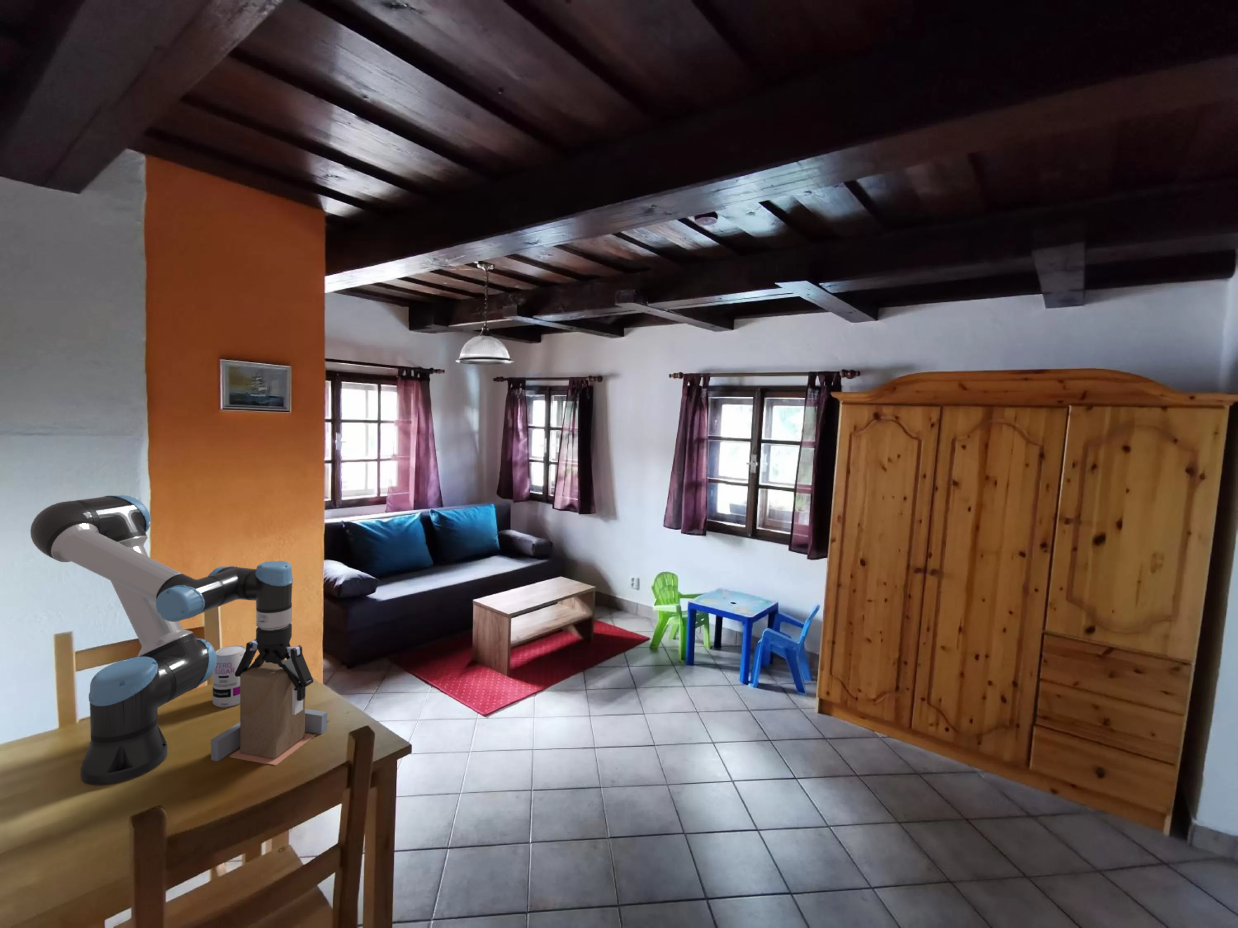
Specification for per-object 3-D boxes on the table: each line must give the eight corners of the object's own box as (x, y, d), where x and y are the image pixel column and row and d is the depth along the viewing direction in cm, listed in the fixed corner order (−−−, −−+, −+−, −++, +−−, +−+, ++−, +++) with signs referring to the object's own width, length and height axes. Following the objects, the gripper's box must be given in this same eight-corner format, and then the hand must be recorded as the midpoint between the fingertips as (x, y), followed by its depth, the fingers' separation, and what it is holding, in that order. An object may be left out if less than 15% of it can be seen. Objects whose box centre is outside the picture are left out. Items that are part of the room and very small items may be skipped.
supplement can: (245, 691, 166) (245, 642, 164) (249, 703, 159) (249, 652, 158) (211, 699, 160) (211, 648, 159) (214, 711, 154) (213, 658, 153)
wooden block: (239, 753, 136) (239, 673, 134) (272, 731, 146) (272, 657, 144) (274, 760, 134) (275, 679, 133) (305, 737, 144) (306, 662, 142)
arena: (207, 758, 134) (207, 738, 133) (267, 720, 151) (268, 702, 151) (272, 771, 130) (273, 750, 130) (326, 730, 148) (327, 711, 148)
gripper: (217, 624, 136) (217, 707, 138) (307, 636, 132) (306, 723, 133) (243, 614, 144) (243, 693, 145) (329, 625, 139) (328, 707, 141)
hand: (273, 707), depth 139 cm, fingers open, 13 cm apart
